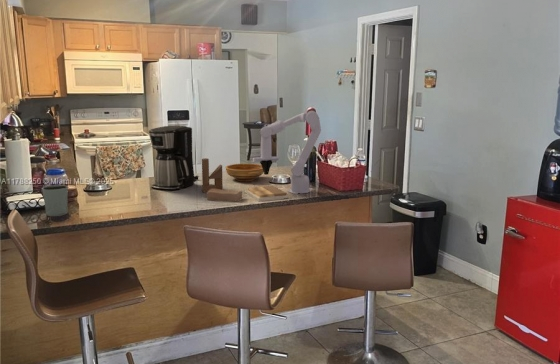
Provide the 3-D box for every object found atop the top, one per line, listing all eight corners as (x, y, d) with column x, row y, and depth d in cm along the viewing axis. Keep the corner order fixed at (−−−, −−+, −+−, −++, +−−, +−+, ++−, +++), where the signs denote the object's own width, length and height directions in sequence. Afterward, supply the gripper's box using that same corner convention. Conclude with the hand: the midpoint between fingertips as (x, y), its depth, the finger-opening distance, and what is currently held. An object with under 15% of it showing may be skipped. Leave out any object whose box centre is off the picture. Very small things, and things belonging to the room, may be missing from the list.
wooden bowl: (218, 177, 288) (218, 164, 287) (253, 173, 299) (253, 161, 297) (235, 186, 262) (235, 172, 261) (273, 182, 273) (274, 169, 272)
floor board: (273, 190, 252) (273, 185, 251) (287, 198, 234) (288, 193, 233) (245, 192, 246) (245, 187, 245) (258, 201, 228) (258, 195, 227)
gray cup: (39, 216, 200) (36, 189, 197) (54, 210, 210) (51, 184, 207) (60, 217, 198) (58, 190, 196) (74, 211, 208) (72, 185, 206)
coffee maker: (146, 190, 250) (142, 128, 243) (164, 179, 281) (161, 123, 274) (187, 191, 248) (185, 129, 241) (201, 179, 280) (199, 124, 273)
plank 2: (268, 192, 240) (268, 190, 239) (274, 196, 232) (274, 193, 231) (253, 193, 237) (253, 191, 236) (259, 197, 229) (259, 195, 228)
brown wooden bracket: (222, 191, 249) (222, 158, 246) (203, 192, 245) (202, 159, 241) (220, 189, 253) (220, 157, 249) (201, 191, 248) (200, 158, 245)
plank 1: (261, 188, 248) (261, 186, 248) (267, 192, 240) (267, 190, 240) (247, 190, 245) (247, 187, 245) (253, 193, 237) (253, 191, 237)
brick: (242, 198, 235) (242, 189, 234) (238, 202, 227) (237, 193, 226) (211, 197, 238) (211, 188, 237) (206, 200, 230) (205, 191, 229)
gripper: (275, 147, 251) (275, 172, 254) (250, 148, 245) (250, 173, 248) (280, 149, 245) (280, 174, 247) (255, 150, 239) (255, 176, 242)
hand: (266, 174), depth 247 cm, fingers closed
